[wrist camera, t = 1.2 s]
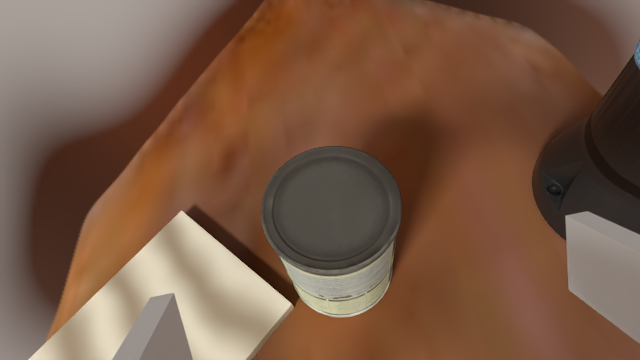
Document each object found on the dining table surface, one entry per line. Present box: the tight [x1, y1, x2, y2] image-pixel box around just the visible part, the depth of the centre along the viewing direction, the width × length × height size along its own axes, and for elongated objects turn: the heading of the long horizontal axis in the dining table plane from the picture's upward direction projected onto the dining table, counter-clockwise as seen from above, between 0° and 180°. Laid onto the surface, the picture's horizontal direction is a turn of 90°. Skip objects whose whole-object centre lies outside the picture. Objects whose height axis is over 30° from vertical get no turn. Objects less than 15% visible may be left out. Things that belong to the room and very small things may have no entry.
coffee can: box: [261, 146, 402, 317], centre depth 38 cm, size 10×10×14 cm
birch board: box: [29, 211, 294, 360], centre depth 42 cm, size 20×16×2 cm
